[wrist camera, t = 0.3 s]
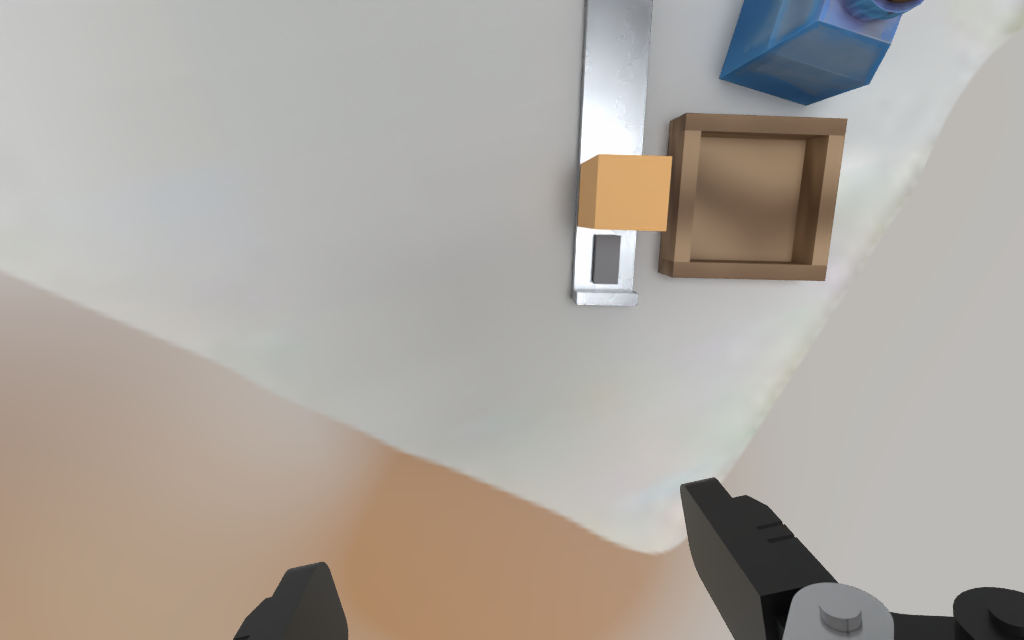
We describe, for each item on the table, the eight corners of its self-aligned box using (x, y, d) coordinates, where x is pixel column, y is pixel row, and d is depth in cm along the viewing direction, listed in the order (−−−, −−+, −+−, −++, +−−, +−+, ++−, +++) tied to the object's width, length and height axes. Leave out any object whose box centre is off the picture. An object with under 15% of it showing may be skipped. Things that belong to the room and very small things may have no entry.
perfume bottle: (840, 7, 35) (1016, -96, 23) (806, 105, 36) (957, 54, 24) (751, -22, 35) (885, -143, 23) (719, 78, 36) (830, 12, 24)
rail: (586, -16, 34) (593, -34, 32) (649, -13, 34) (661, -31, 32) (571, 298, 38) (576, 304, 36) (627, 299, 38) (637, 305, 36)
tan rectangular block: (580, 163, 35) (598, 153, 29) (642, 165, 35) (672, 156, 29) (574, 282, 37) (590, 295, 31) (633, 283, 37) (660, 297, 31)
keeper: (670, 121, 36) (686, 112, 33) (817, 126, 36) (847, 118, 33) (658, 272, 38) (672, 277, 35) (798, 275, 38) (824, 280, 35)
